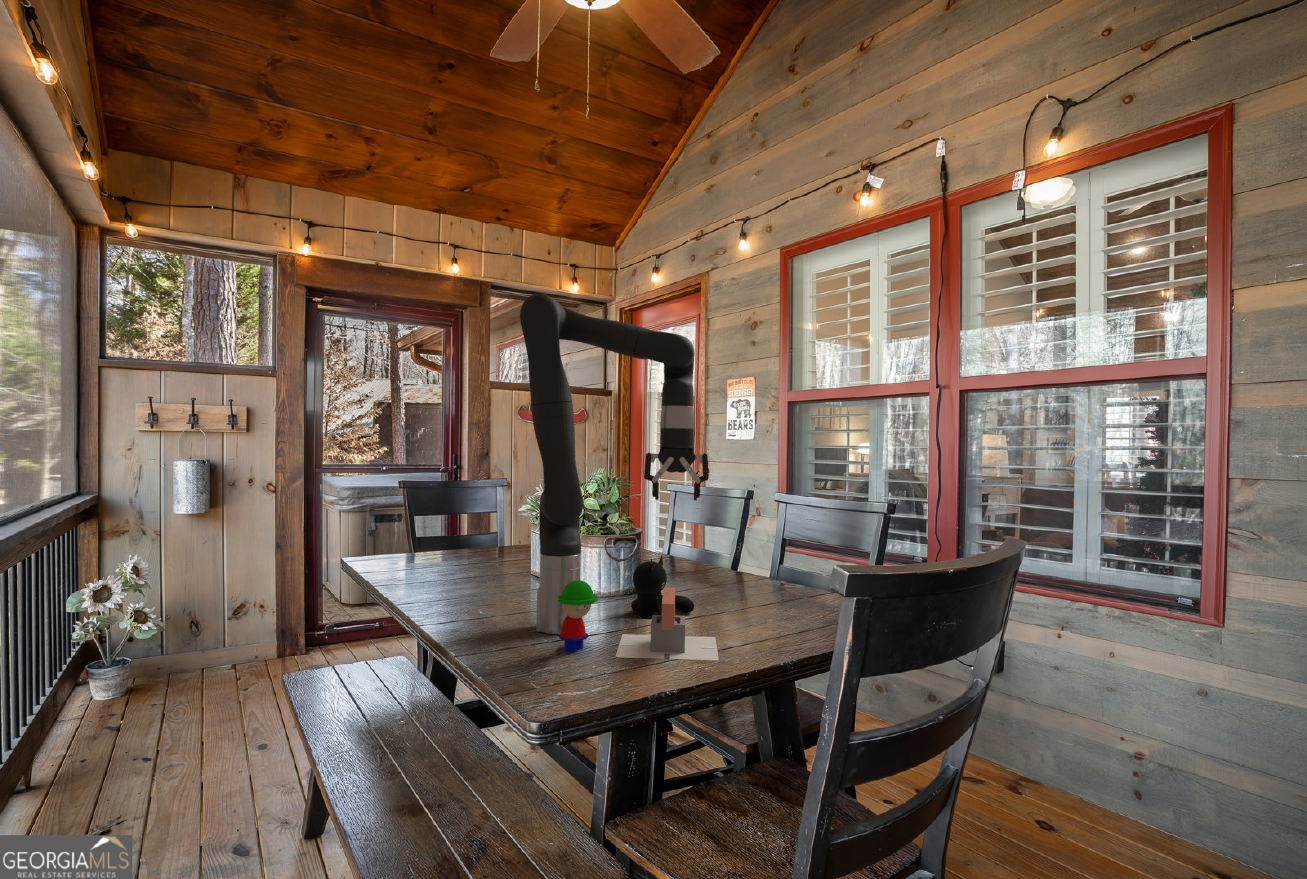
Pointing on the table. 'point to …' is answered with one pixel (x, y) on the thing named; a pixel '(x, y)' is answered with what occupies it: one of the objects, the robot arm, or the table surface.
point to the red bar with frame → (668, 627)
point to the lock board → (642, 646)
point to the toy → (575, 613)
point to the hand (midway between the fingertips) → (675, 499)
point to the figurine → (654, 590)
